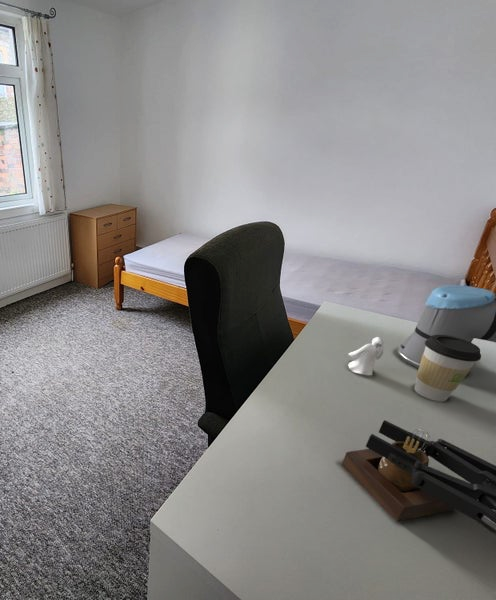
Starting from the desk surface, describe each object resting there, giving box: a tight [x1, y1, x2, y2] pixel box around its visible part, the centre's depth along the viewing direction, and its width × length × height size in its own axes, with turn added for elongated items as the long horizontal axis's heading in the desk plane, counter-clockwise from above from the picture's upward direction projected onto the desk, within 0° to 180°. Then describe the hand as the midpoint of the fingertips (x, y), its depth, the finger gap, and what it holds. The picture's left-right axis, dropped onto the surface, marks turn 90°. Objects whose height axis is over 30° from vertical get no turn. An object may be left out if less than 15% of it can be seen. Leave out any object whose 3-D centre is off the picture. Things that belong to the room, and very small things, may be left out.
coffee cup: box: [414, 335, 482, 402], centre depth 84 cm, size 10×10×15 cm
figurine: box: [347, 336, 385, 376], centre depth 94 cm, size 8×8×12 cm
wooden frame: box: [341, 448, 454, 522], centre depth 62 cm, size 11×11×4 cm
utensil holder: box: [378, 428, 431, 493], centre depth 60 cm, size 6×6×12 cm
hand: (375, 433), depth 63 cm, fingers closed on utensil holder, 5 cm apart
